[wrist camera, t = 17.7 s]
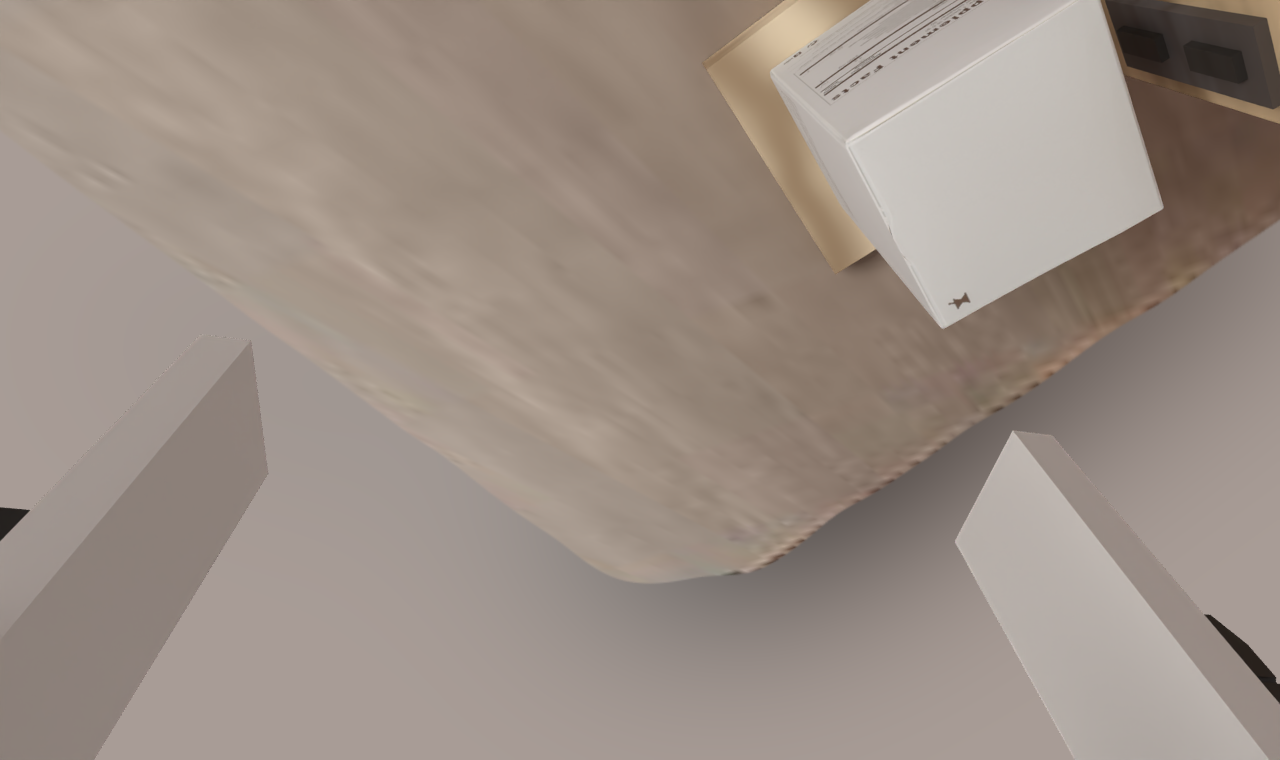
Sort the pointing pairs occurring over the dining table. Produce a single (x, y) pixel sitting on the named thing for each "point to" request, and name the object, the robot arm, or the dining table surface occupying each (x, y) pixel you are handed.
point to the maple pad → (788, 118)
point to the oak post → (1203, 49)
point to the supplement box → (973, 139)
